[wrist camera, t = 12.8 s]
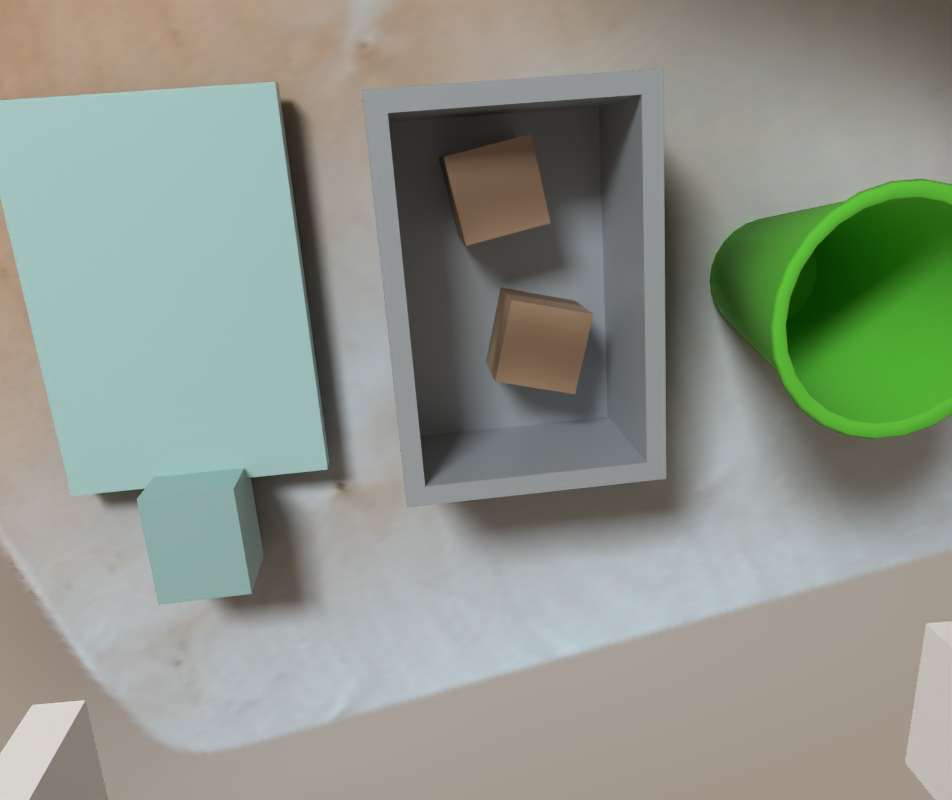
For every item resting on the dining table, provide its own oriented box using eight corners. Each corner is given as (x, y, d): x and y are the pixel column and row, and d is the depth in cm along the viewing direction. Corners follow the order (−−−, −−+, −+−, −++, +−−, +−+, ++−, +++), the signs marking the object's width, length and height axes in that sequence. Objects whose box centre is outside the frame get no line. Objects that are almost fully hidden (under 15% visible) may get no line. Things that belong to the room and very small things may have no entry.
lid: (1, 105, 33) (-57, 96, 29) (281, 86, 34) (265, 74, 30) (107, 565, 39) (71, 614, 35) (342, 539, 40) (335, 584, 36)
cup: (764, 401, 40) (897, 486, 29) (628, 294, 38) (719, 344, 27) (889, 254, 38) (1076, 288, 28) (754, 133, 36) (903, 120, 26)
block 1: (438, 157, 34) (443, 156, 31) (517, 136, 34) (530, 133, 31) (459, 238, 35) (466, 245, 32) (535, 217, 35) (550, 223, 32)
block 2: (500, 287, 36) (511, 299, 33) (574, 300, 37) (593, 314, 33) (485, 362, 37) (495, 381, 34) (558, 373, 38) (575, 394, 34)
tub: (367, 104, 34) (361, 90, 27) (611, 87, 35) (663, 68, 28) (404, 448, 39) (406, 507, 32) (619, 425, 39) (666, 478, 33)
